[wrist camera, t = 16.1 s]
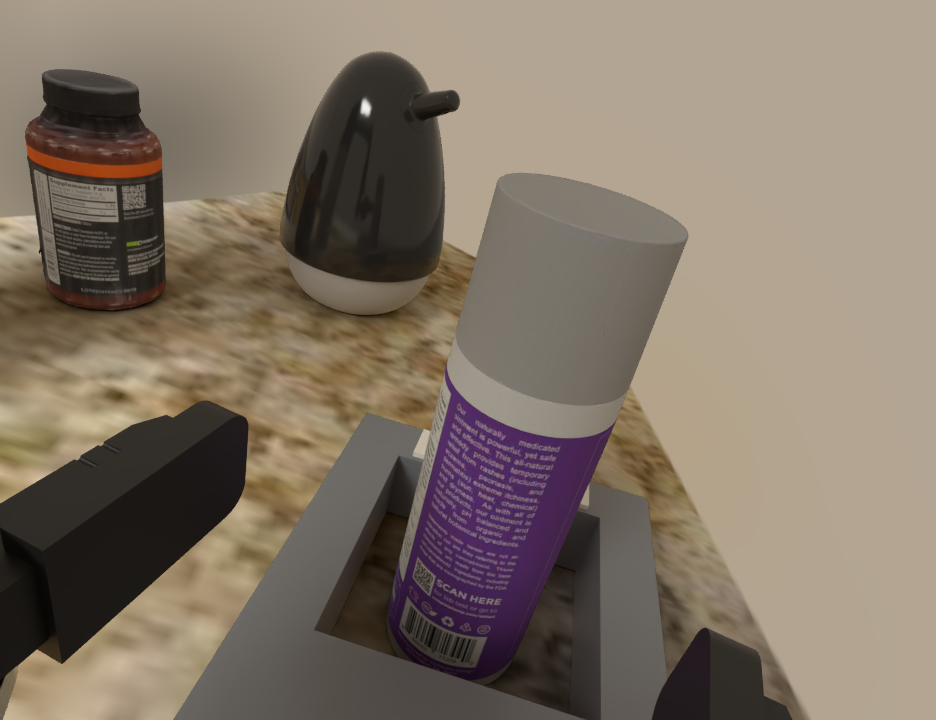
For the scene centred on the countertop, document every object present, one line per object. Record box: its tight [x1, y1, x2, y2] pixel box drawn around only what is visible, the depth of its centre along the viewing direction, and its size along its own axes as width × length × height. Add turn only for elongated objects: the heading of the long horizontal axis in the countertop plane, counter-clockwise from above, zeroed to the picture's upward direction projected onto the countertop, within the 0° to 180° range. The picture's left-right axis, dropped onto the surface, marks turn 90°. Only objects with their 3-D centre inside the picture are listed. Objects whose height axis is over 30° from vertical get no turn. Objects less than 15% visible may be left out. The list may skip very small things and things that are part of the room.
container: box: [386, 173, 688, 686], centre depth 17 cm, size 5×5×15 cm
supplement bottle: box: [25, 69, 166, 310], centre depth 32 cm, size 6×6×11 cm
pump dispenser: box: [280, 51, 460, 315], centre depth 37 cm, size 10×10×15 cm
